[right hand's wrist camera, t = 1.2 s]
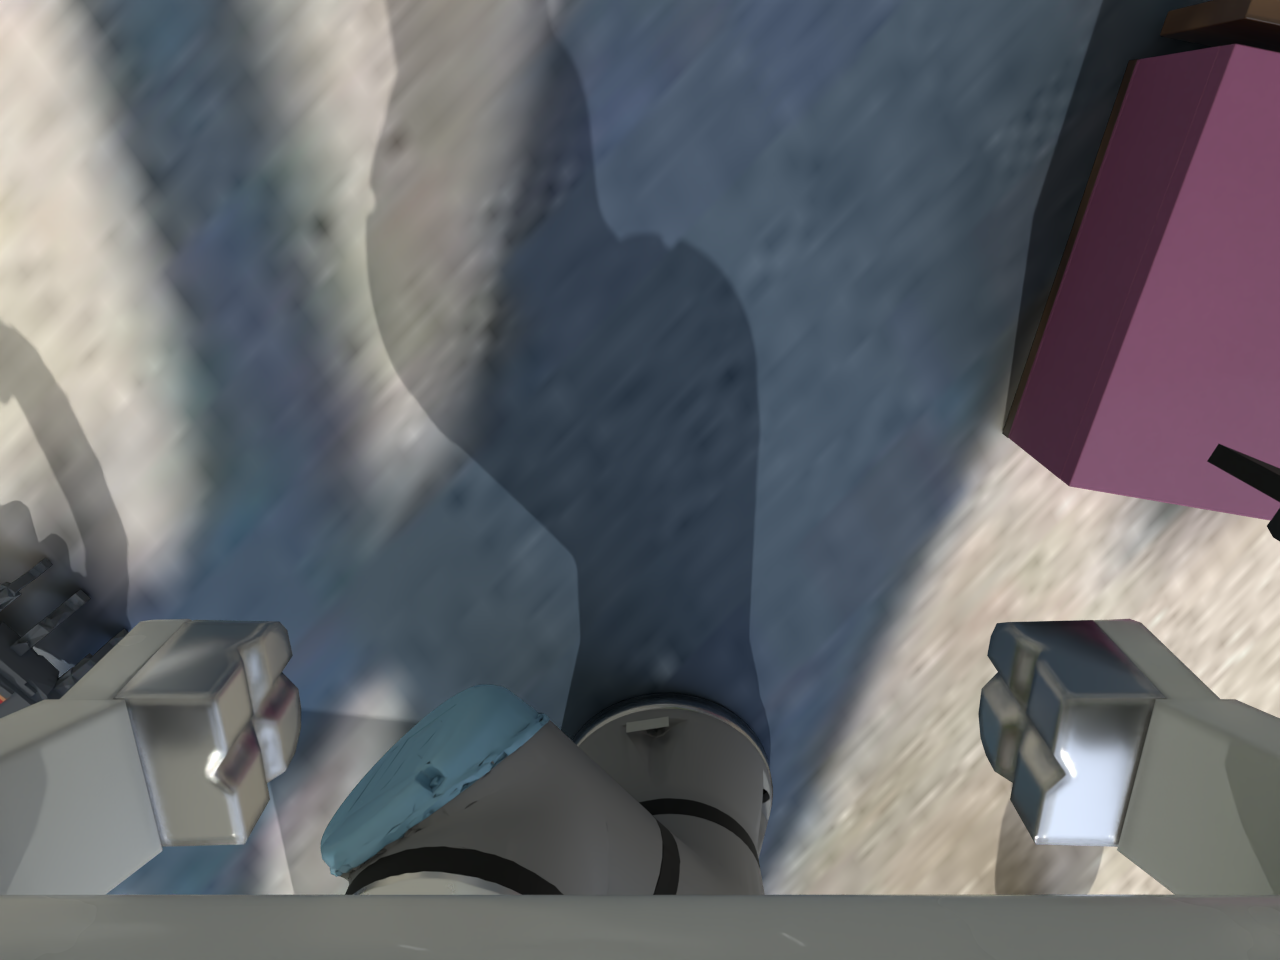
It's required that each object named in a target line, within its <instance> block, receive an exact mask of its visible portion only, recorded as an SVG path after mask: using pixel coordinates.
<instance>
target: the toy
mask: <svg viewBox="0 0 1280 960" xmlns="http://www.w3.org/2000/svg"><path fill="white" fill-rule="evenodd" d="M51 565H53V564H52V563H50V562H49V561H48V560H47V559H46V558H45V559H44V560H42V561H41V562H39V563H38V564H37V565H36V566H35V567H33V568H32V569H31V570H30V571H28V572H27V573H26V574H24V575H23V576H21V577H20V578H18V579H17V580H16V581H14V582H13V583H8V582H5V583H4V584H2V585H1V586H0V611H1V610H2V609H4V608H5V607H6V606H7V605H9V604H10V603H11V602H12V601H14V600H15V599H16V598H17V597H19V596H20V595H21V593H20V592H19V590H21V589H22V588H23V587H25V586H26V585H27V584H29V583H30V582H31V581H33V580H34V579H36V578H37V577H38V576H40V575H41V574H42V573H43V572H44V571H45V570H47V569H48V568H49V567H50V566H51ZM90 599H91V598H90V597H88V596H87V595H86V594H85V593H84V592H83V591H82V590H81V589H80V590H79V591H78V592H77V593H75V594H74V595H73V596H72V597H70V598H69V599H68V600H67V601H65V602H64V603H63V604H62V605H61V606H60V607H58V608H57V609H56V610H55V611H54V612H52V613H51V614H50V615H49V616H47V617H46V618H45V619H43V620H42V621H41V622H40V623H38V624H37V625H36V626H35V627H33V628H32V629H31V630H30V631H28V632H27V633H26V634H25V635H24V636H22V637H20V636H19V635H18V634H16V633H15V632H14V631H13V630H12V629H11V628H9V627H8V626H7V625H6V624H5V623H4V622H3V623H1V624H0V718H3V717H5V716H7V715H10V714H12V713H14V712H17V711H19V710H21V709H24V708H26V707H28V706H31V705H33V704H35V703H38V702H40V701H42V700H48V699H60V698H61V697H62V696H64V695H65V694H66V693H67V692H68V691H69V690H70V689H71V688H72V687H73V686H74V685H75V684H76V683H77V682H78V681H79V680H80V679H81V678H82V677H83V676H84V675H85V674H86V673H87V672H89V671H90V670H91V669H92V668H93V667H94V666H95V665H96V664H97V663H98V662H99V661H100V660H101V659H102V658H103V657H104V656H105V655H106V654H107V653H108V652H109V651H110V650H111V649H112V648H113V647H115V646H116V645H117V644H118V643H119V642H120V641H121V640H122V639H123V638H124V637H125V636H126V635H127V634H128V633H129V632H128V631H126V630H125V629H123V630H122V631H121V632H119V633H118V634H117V635H116V636H114V637H113V638H112V639H111V640H109V641H108V642H107V643H106V644H105V645H104V646H103V647H102V648H101V649H100V650H99V651H98V652H96V653H95V654H94V655H93V656H92V655H91V654H90V653H89V654H88V655H87V656H86V657H85V658H84V659H83V660H81V661H80V662H79V663H78V664H77V665H76V666H75V667H72V668H71V669H70V670H68V671H67V672H66V673H65V674H63V675H62V676H61V677H60V678H59V677H58V675H59V671H58V670H57V669H56V668H55V667H54V666H53V665H52V664H51V663H50V662H49V661H48V660H46V659H45V658H44V657H43V656H41V655H38V654H37V653H36V652H35V651H34V650H33V649H32V648H31V647H33V646H34V645H35V644H36V643H37V642H39V641H40V640H41V639H42V638H44V637H45V636H46V635H47V634H48V633H50V632H51V631H52V630H53V629H55V628H56V627H57V626H58V625H59V624H61V623H62V622H63V621H64V620H65V619H67V618H68V617H69V616H70V615H71V614H73V613H74V612H75V611H76V610H77V609H79V608H80V607H81V606H82V605H84V604H85V603H86V602H87V601H88V600H90Z"/></svg>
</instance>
